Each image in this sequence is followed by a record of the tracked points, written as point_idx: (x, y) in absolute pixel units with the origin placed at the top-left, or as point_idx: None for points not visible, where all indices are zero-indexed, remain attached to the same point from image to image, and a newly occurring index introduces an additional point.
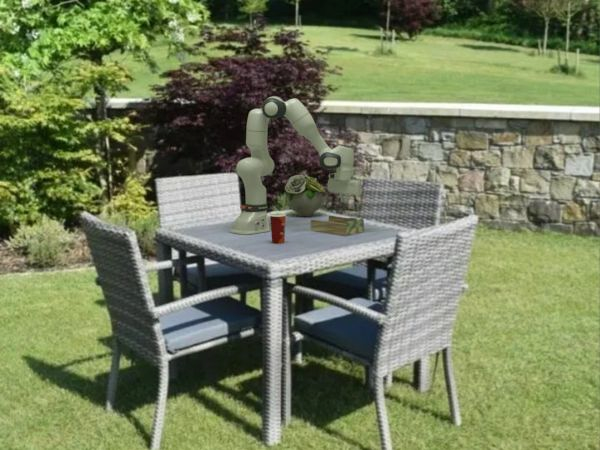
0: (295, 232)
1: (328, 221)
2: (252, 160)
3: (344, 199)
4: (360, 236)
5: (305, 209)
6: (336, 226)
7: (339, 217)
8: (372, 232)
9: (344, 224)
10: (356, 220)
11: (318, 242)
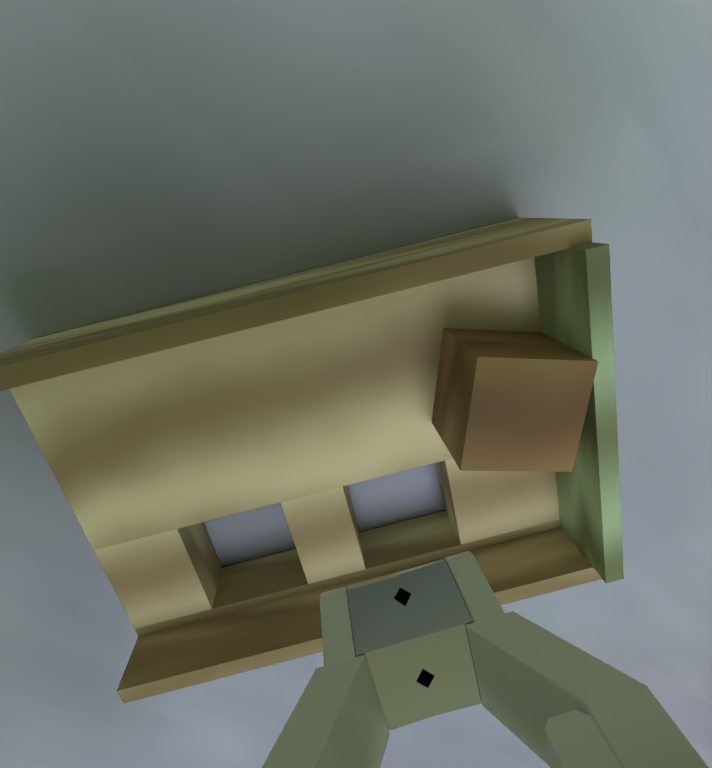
0: (159, 717)
1: (20, 387)
2: None
3: (481, 689)
4: (648, 403)
5: None
6: None
7: (160, 349)
8: (615, 164)
9: (592, 576)
10: (614, 400)
11: None
